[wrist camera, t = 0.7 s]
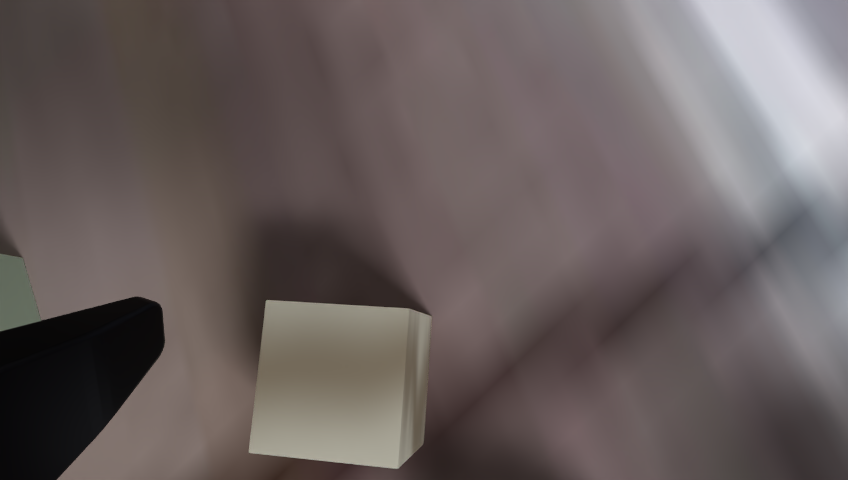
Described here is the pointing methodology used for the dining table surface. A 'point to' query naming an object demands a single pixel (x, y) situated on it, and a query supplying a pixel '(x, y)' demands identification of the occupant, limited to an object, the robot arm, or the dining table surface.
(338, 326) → the oatmeal cube
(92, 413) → the robot arm
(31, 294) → the sage green block
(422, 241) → the dining table surface
